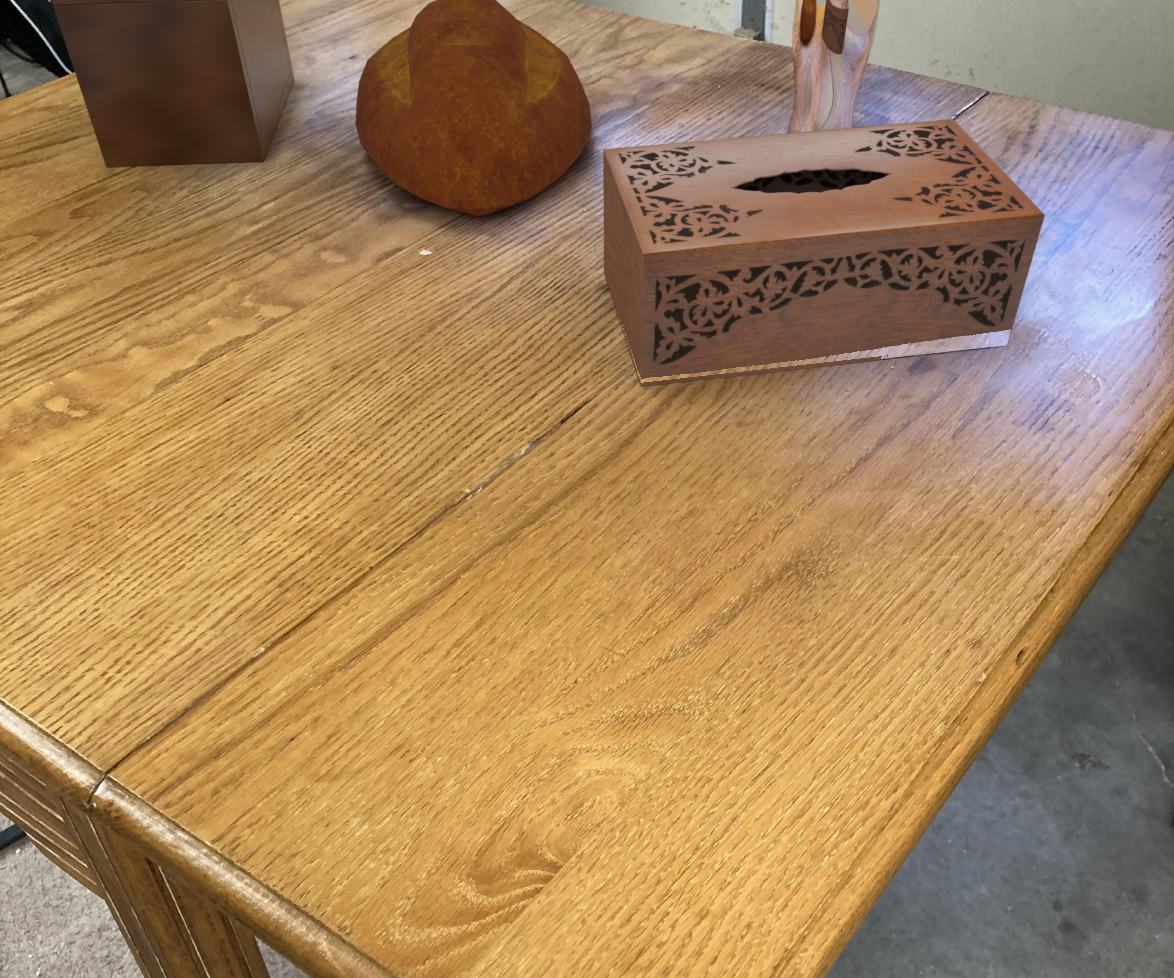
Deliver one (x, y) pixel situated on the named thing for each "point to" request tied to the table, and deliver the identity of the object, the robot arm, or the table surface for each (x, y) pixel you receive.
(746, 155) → the tissue box cover
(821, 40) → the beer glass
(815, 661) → the table surface
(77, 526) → the table surface
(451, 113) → the bread
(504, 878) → the table surface
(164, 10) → the bronze square pillar
